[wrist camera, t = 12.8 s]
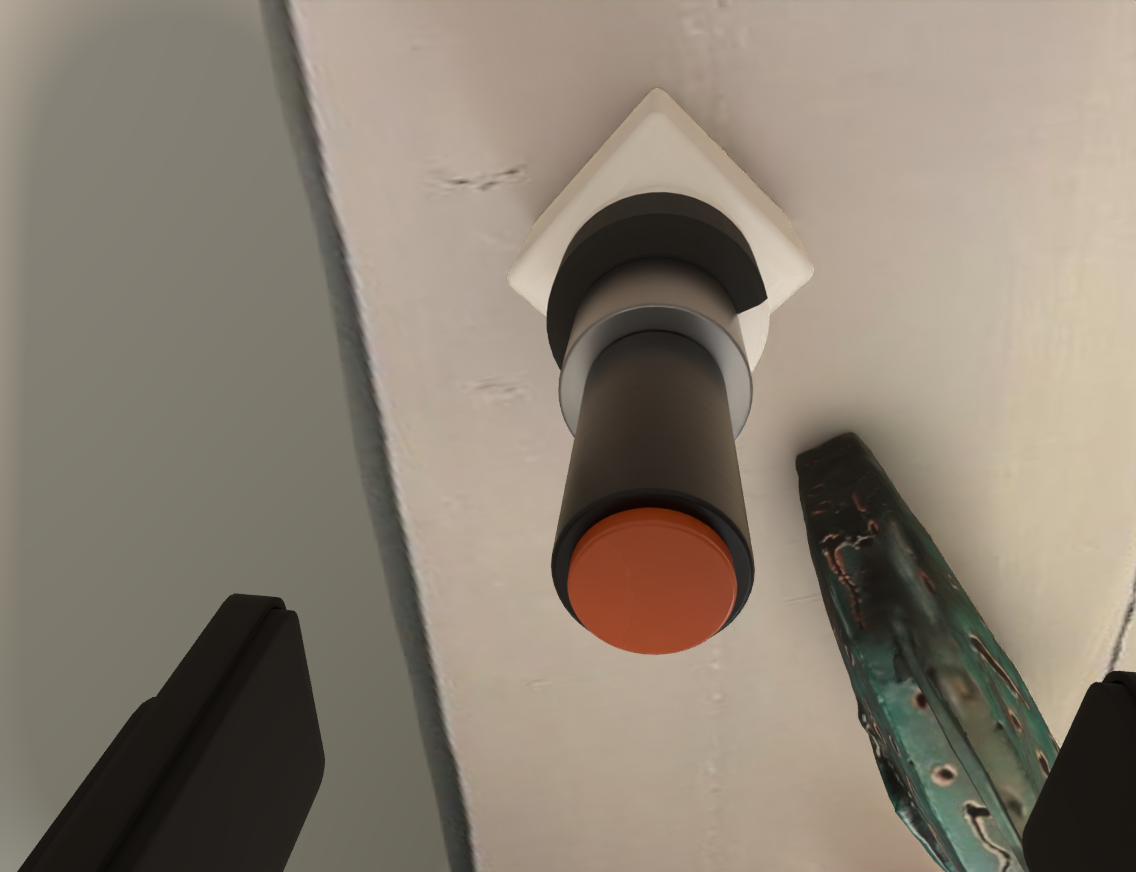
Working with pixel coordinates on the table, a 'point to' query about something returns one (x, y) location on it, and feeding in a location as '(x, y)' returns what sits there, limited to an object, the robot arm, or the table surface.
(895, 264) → the table surface
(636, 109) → the medicine bottle
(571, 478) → the torch
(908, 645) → the ceramic cat
